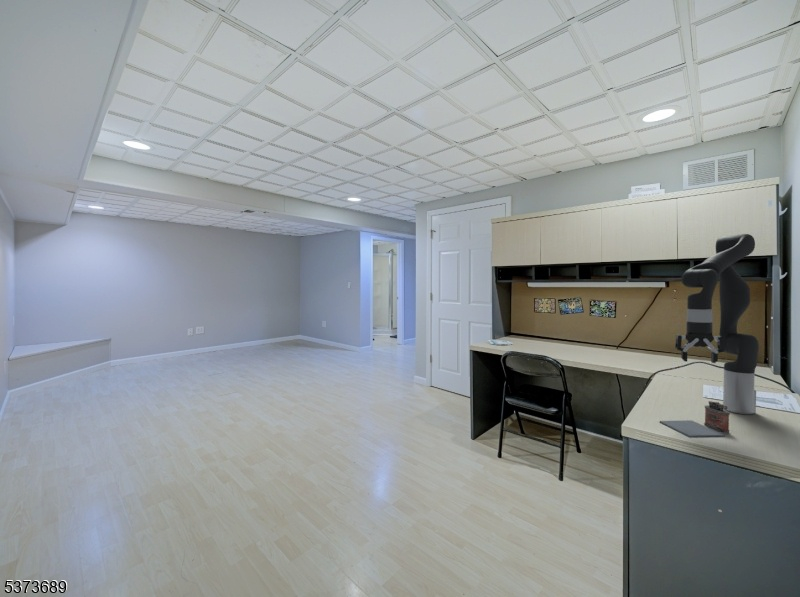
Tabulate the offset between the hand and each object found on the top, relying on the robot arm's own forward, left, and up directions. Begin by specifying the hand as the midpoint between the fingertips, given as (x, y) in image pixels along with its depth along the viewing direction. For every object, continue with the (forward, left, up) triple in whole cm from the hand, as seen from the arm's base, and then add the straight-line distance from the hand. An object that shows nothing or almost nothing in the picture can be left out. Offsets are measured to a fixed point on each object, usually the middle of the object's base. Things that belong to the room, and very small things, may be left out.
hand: (699, 361), depth 130 cm
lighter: (-1, +6, -24) cm, 25 cm away
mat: (+9, +6, -24) cm, 26 cm away
